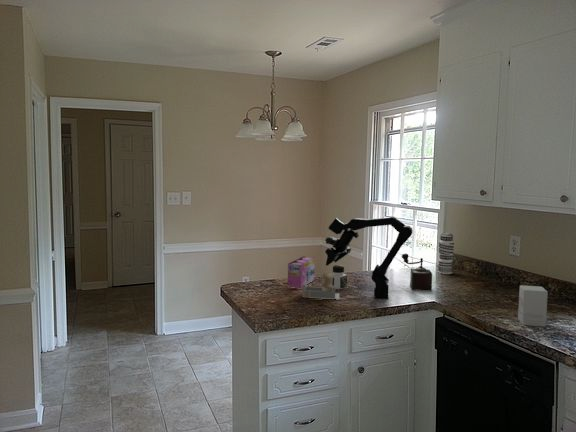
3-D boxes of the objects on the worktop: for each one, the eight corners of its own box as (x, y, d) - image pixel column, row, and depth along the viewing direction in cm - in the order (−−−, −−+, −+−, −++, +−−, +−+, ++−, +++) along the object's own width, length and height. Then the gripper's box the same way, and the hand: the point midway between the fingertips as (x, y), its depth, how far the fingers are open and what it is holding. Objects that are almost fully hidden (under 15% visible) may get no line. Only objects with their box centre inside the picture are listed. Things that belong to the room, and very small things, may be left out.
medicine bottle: (340, 289, 247) (340, 267, 246) (328, 287, 251) (329, 265, 250) (347, 287, 253) (347, 265, 251) (335, 285, 257) (336, 263, 256)
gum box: (303, 278, 271) (303, 255, 270) (316, 280, 268) (316, 257, 267) (287, 288, 249) (287, 263, 248) (300, 289, 246) (301, 264, 245)
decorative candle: (449, 271, 297) (451, 232, 294) (455, 274, 288) (457, 234, 285) (435, 270, 297) (437, 232, 294) (440, 274, 287) (442, 234, 285)
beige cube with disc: (334, 293, 235) (334, 273, 234) (333, 296, 229) (334, 276, 228) (322, 292, 236) (322, 273, 235) (321, 296, 230) (322, 276, 229)
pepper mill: (428, 285, 258) (430, 253, 256) (432, 290, 247) (433, 257, 245) (400, 284, 260) (401, 252, 258) (402, 289, 249) (403, 256, 247)
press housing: (339, 294, 237) (339, 281, 236) (339, 300, 227) (339, 286, 226) (304, 293, 239) (304, 280, 238) (302, 298, 229) (302, 285, 229)
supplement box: (540, 320, 200) (542, 286, 198) (546, 327, 191) (548, 291, 189) (517, 318, 202) (519, 284, 200) (522, 325, 193) (524, 289, 192)
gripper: (341, 228, 248) (327, 251, 254) (324, 232, 233) (310, 257, 238) (357, 240, 244) (343, 263, 250) (341, 246, 228) (326, 270, 234)
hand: (330, 263), depth 243 cm, fingers open, 9 cm apart
